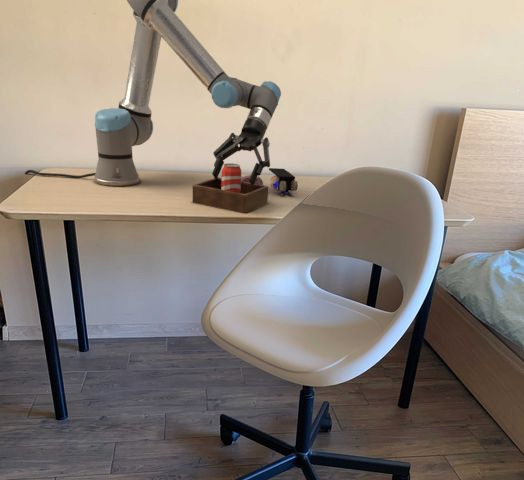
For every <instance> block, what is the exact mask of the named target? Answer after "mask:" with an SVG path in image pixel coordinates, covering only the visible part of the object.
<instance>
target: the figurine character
mask: <svg viewBox="0 0 524 480" xmlns="http://www.w3.org/2000/svg"><path fill="white" fill-rule="evenodd" d="M268 171H270V172H271V174H274V175H273V176H272V177H271V178H270V179H269V180H270V181H269V185H270V187H272V189H274V190H276V191H279V194H280V195H281V196H282V197H284V196H285V194H287V195H288V196H289V197H292V193H290V192H295V191H298V188H299V187H298V186H299V183H298V181H297V180H296V176H295V175H293V174H292V173H290V172H289V171H288V170H286V169H285V168H277V167H275V168H274V167H273V168H272V167H268Z"/></svg>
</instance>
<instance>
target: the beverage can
mask: <svg viewBox="0 0 524 480" xmlns="http://www.w3.org/2000/svg"><path fill="white" fill-rule="evenodd" d="M241 176H242V169H241V165H240V164H238V163H224V164H223V166H222V169H221V178H222V185H221V190H226V191H231V192H236V193H240V191H241Z"/></svg>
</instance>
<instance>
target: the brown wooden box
mask: <svg viewBox="0 0 524 480" xmlns="http://www.w3.org/2000/svg"><path fill="white" fill-rule="evenodd" d="M221 185H222V177H220V176H218V178H217V179H215V178H214V177H213V178H210V179H207V180H204V181H199V182H197V183H194V184H192V186H191V187H192V203H194V204H199V205H203V206H208V207H213V208H218V209H223V210H228V211H233V212H237V213H242V214H247V213H249V212H251V211H253V210H257V209H258V208H260V207H262V206H265V205H267V204H268V201H269V200H268V197H269V186H268V185H264V184H263V185H258V184H254V185H251V183H247V182H242V181H241V191H240V193H236V192H231V191H226V190H221Z"/></svg>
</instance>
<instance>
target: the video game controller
mask: <svg viewBox="0 0 524 480" xmlns="http://www.w3.org/2000/svg"><path fill="white" fill-rule="evenodd" d="M250 176H251V174H249V175H245V176H242V175H241V181H242V182H247V183H250V181H249V178H250ZM254 184H258V185H264V181H263V180H262V178H261V177H260V176H257V178H256V180H255V183H254Z"/></svg>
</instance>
